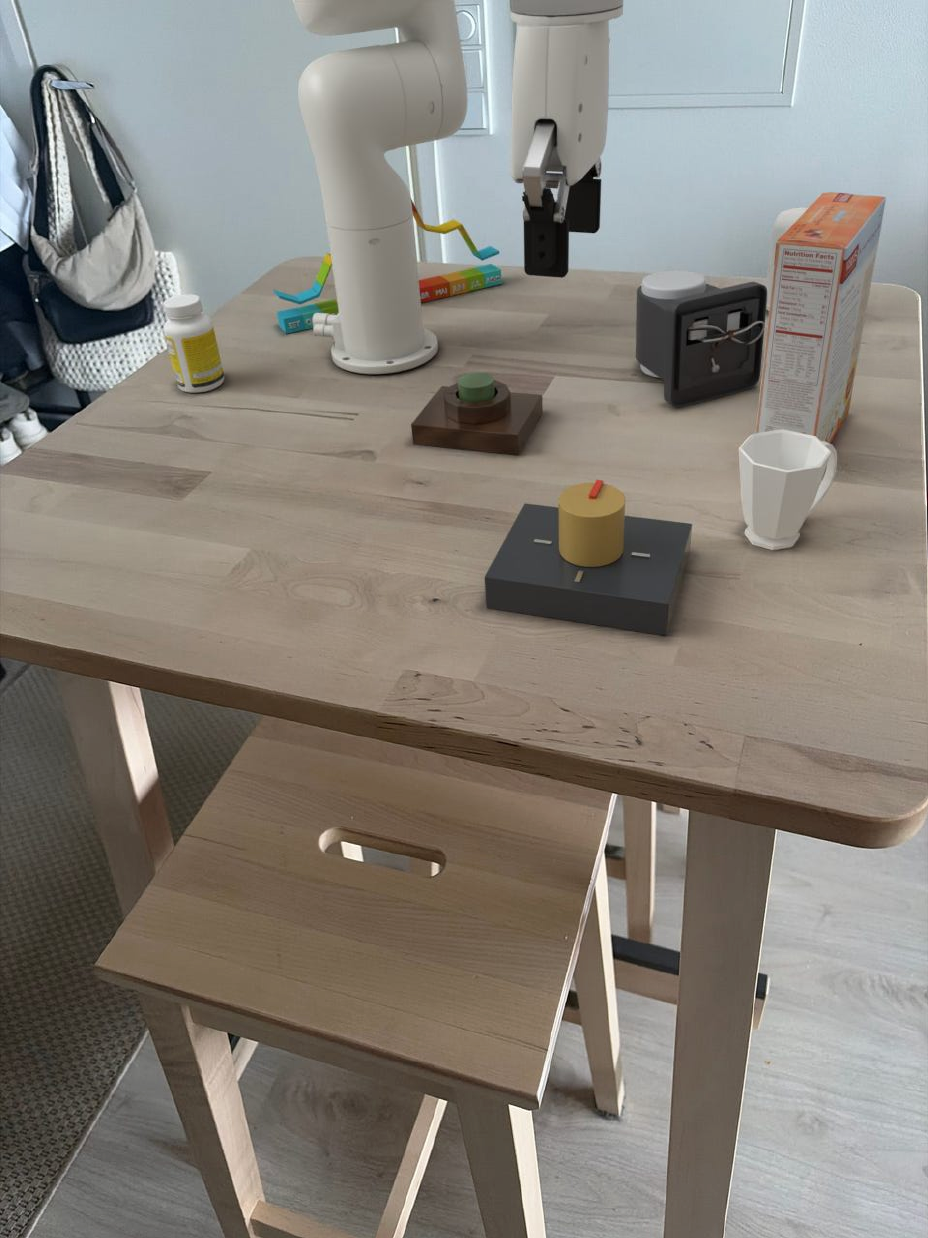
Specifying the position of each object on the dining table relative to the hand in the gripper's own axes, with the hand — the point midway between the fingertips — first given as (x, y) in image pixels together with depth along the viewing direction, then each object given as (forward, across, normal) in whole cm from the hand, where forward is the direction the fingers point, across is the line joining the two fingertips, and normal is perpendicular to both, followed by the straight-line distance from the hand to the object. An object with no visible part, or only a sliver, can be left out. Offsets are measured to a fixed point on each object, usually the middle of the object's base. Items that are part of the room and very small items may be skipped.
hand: (563, 251), depth 76 cm
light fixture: (+22, -27, +6) cm, 36 cm away
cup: (+22, +1, +20) cm, 29 cm away
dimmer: (+18, +12, +6) cm, 23 cm away
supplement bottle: (+23, -14, -46) cm, 54 cm away
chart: (+23, -41, -34) cm, 58 cm away
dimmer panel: (+22, +12, +6) cm, 25 cm away
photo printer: (+22, -46, +17) cm, 54 cm away
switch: (+19, -11, -12) cm, 24 cm away
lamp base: (+22, -11, -12) cm, 27 cm away
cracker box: (+22, -15, +20) cm, 33 cm away
